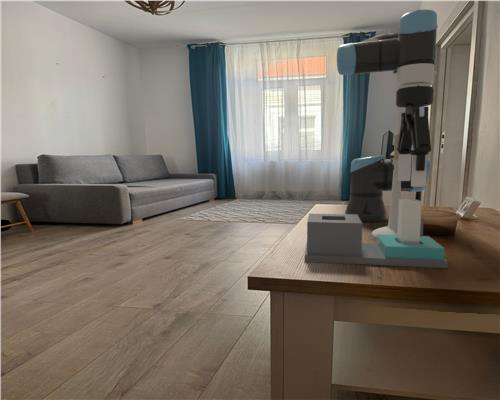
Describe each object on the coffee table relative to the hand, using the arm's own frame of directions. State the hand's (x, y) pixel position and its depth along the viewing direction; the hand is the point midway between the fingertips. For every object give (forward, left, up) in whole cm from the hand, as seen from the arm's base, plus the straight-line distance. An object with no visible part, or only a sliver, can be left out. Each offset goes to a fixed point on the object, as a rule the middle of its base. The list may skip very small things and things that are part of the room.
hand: (410, 183), depth 83 cm
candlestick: (-15, +17, -18) cm, 29 cm away
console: (-6, -6, -17) cm, 19 cm away
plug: (0, 0, -16) cm, 16 cm away
